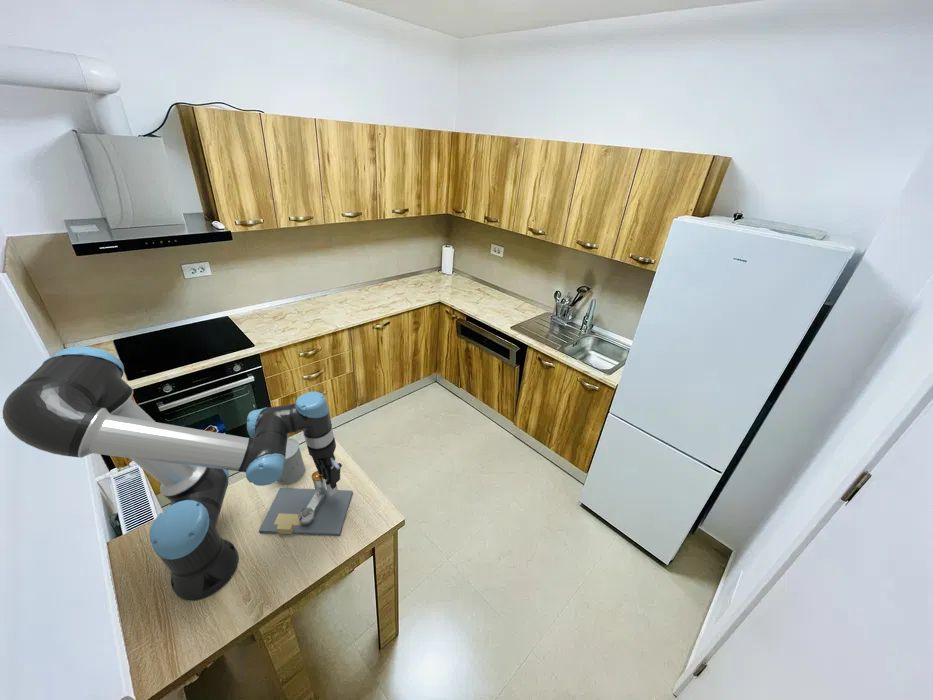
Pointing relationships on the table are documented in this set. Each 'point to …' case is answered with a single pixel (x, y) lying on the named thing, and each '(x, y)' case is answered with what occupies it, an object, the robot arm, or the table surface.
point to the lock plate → (301, 501)
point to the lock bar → (314, 500)
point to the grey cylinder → (292, 464)
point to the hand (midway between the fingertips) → (333, 491)
